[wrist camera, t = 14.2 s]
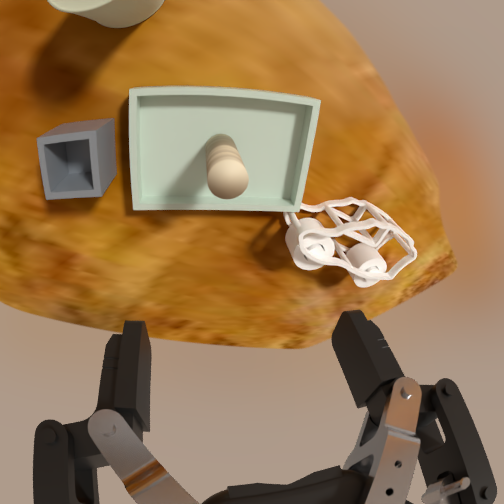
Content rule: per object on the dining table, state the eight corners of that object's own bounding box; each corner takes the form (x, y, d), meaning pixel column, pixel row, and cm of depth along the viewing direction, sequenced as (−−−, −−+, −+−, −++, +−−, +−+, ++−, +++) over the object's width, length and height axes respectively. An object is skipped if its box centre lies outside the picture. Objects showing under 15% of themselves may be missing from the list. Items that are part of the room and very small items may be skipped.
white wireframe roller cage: (265, 235, 41) (277, 268, 35) (305, 167, 36) (327, 191, 30) (363, 270, 48) (382, 299, 43) (400, 220, 43) (425, 246, 37)
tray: (135, 87, 26) (129, 89, 24) (311, 97, 30) (321, 100, 28) (137, 199, 34) (133, 210, 32) (292, 201, 38) (299, 212, 36)
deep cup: (62, 123, 26) (36, 138, 21) (114, 117, 28) (96, 130, 22) (67, 176, 30) (46, 199, 25) (116, 173, 32) (101, 196, 26)
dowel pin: (206, 133, 30) (208, 160, 22) (236, 134, 31) (251, 162, 23) (204, 161, 32) (206, 198, 24) (233, 162, 33) (246, 199, 25)
